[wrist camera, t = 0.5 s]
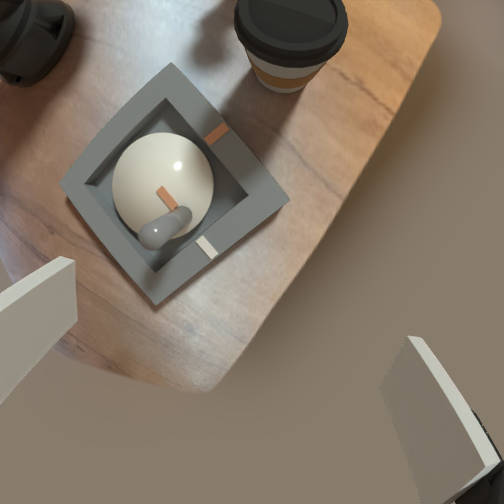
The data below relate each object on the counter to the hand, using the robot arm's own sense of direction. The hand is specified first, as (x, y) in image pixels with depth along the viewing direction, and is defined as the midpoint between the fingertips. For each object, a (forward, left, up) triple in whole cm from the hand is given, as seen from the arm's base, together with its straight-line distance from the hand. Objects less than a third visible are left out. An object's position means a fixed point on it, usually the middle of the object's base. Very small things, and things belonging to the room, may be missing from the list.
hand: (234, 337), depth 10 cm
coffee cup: (-12, +13, -25) cm, 30 cm away
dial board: (-10, -6, -25) cm, 27 cm away
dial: (-10, -6, -24) cm, 26 cm away
